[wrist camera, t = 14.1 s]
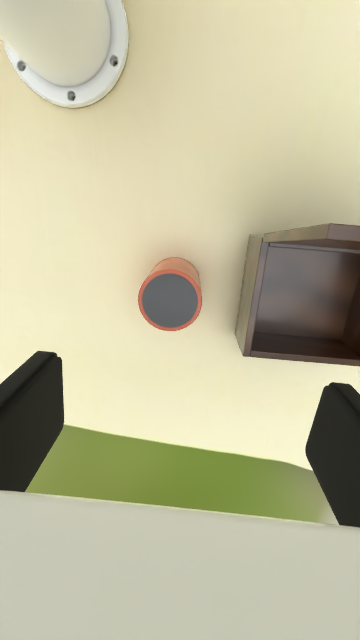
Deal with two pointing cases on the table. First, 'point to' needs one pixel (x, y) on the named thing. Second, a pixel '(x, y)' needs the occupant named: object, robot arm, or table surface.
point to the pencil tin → (171, 295)
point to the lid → (319, 236)
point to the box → (300, 303)
